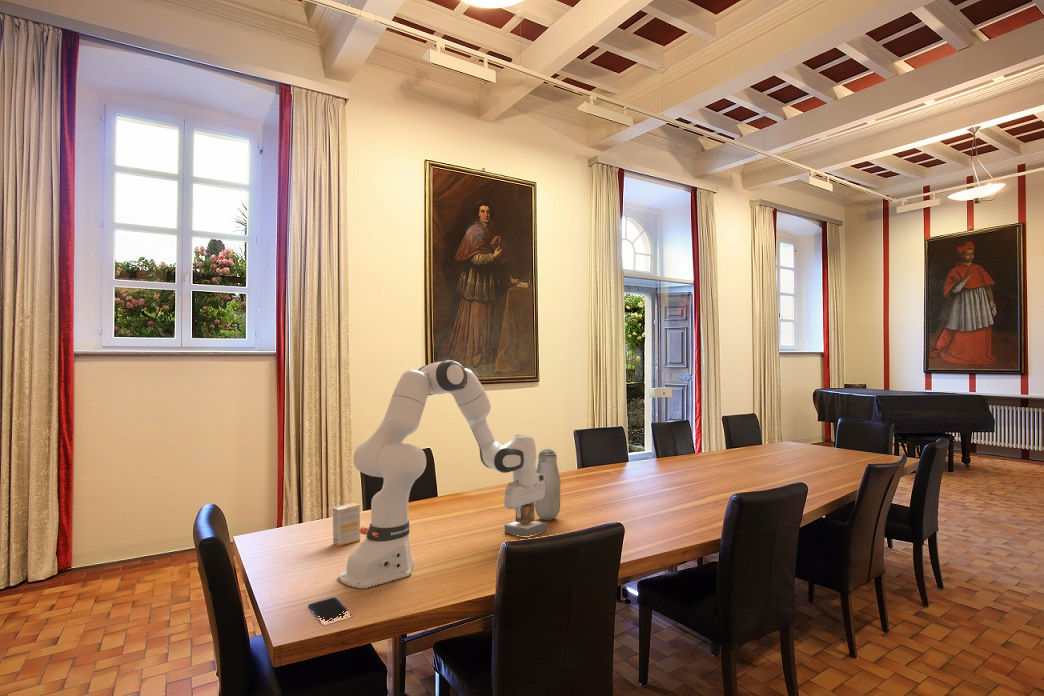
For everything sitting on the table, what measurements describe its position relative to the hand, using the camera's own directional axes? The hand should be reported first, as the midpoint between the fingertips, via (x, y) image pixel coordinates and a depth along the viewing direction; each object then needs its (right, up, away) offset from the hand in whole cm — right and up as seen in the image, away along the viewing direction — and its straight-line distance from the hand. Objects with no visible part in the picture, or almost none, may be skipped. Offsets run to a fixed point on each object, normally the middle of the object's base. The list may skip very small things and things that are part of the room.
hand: (525, 515), depth 200 cm
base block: (0, -6, 0) cm, 6 cm away
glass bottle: (+9, -7, +16) cm, 19 cm away
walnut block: (0, -2, 0) cm, 2 cm away
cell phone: (-51, -6, -62) cm, 80 cm away
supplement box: (-64, -7, -10) cm, 65 cm away
